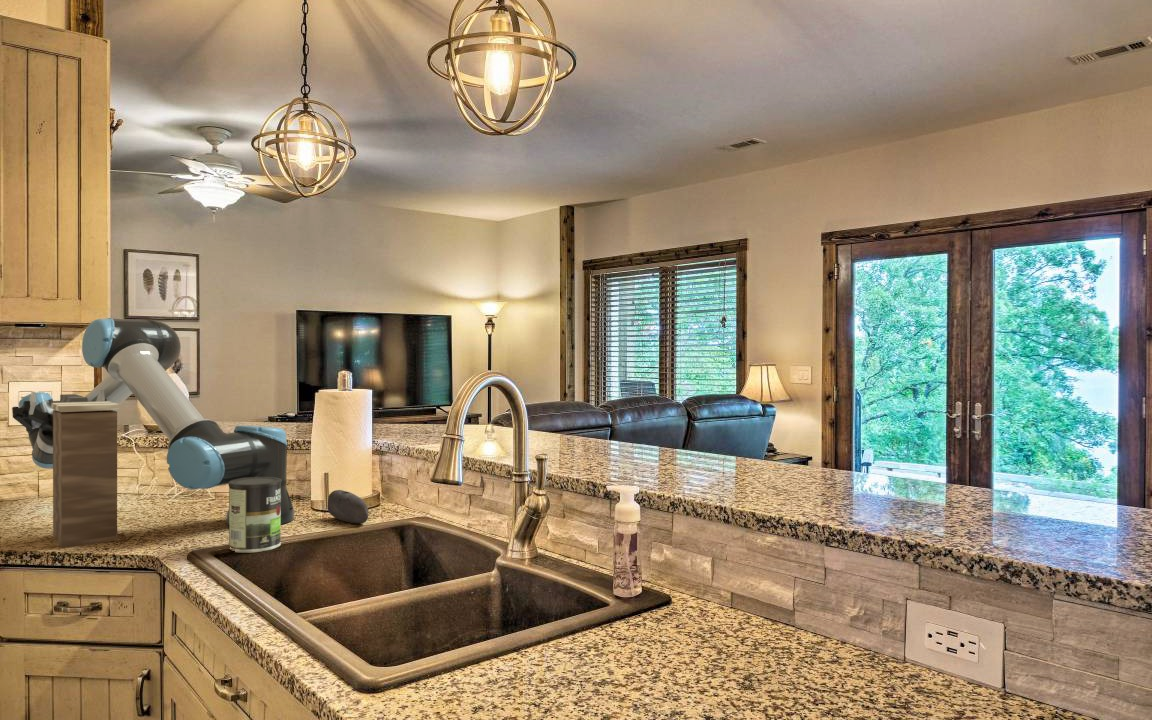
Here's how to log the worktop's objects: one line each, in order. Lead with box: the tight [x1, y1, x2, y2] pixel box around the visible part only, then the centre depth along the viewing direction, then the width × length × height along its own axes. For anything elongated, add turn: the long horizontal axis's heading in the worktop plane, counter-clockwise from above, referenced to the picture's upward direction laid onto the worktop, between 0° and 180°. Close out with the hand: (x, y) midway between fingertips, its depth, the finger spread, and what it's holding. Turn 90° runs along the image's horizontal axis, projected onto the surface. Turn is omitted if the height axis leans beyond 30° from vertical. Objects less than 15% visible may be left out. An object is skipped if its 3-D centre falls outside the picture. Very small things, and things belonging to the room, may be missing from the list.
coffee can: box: [227, 477, 282, 554], centre depth 159 cm, size 10×10×14 cm
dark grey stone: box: [326, 489, 370, 524], centre depth 183 cm, size 15×5×7 cm, turn 45°
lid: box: [51, 393, 120, 412], centre depth 170 cm, size 29×11×2 cm, turn 42°
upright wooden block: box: [52, 410, 118, 549], centre depth 164 cm, size 12×10×28 cm
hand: (69, 395), depth 178 cm, fingers open, 13 cm apart
